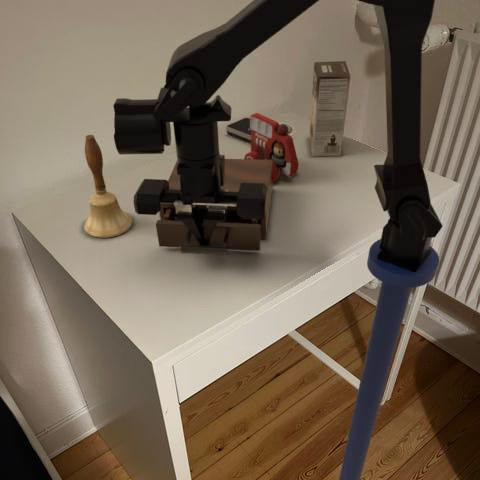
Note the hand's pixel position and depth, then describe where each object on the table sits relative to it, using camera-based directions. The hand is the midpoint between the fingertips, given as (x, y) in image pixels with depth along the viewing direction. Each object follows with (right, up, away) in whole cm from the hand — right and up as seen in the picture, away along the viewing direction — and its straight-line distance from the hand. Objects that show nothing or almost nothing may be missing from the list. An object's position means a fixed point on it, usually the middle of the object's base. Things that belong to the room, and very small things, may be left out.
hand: (205, 247), depth 78 cm
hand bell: (-18, +5, +10) cm, 21 cm away
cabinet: (+2, +8, +13) cm, 15 cm away
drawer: (+1, +4, +7) cm, 8 cm away
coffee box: (+24, +26, +31) cm, 47 cm away
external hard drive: (+8, +30, +36) cm, 47 cm away
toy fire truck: (+12, +18, +23) cm, 31 cm away
